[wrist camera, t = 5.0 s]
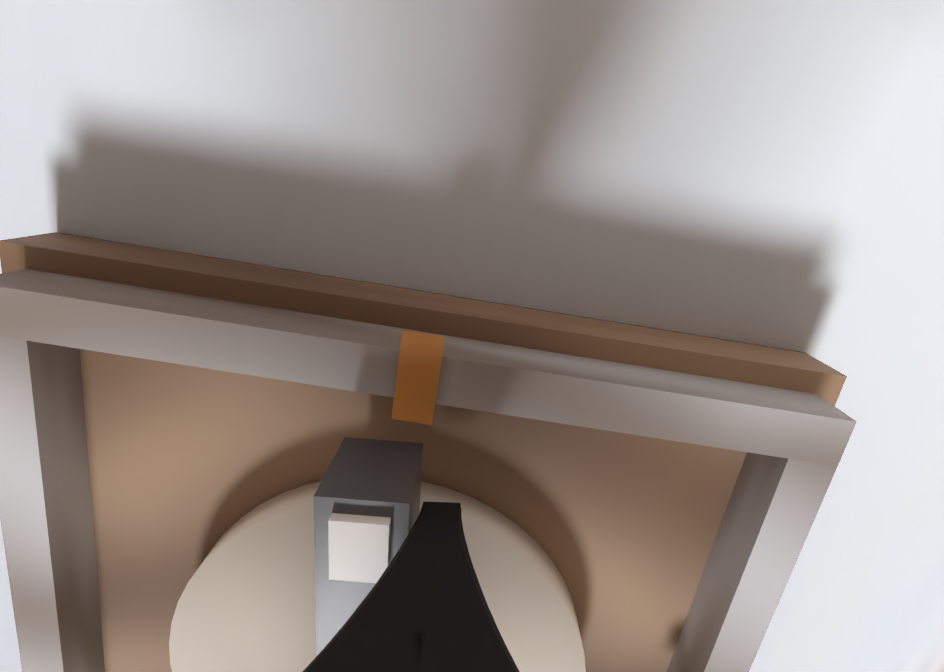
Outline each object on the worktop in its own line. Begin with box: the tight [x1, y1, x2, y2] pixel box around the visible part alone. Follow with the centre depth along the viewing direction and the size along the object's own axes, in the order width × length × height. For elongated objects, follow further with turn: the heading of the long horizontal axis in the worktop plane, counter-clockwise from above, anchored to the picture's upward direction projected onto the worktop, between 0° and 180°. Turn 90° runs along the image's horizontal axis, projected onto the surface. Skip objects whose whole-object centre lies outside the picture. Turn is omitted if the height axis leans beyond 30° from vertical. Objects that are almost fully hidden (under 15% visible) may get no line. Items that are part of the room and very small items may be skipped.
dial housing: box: [0, 232, 856, 672], centre depth 14 cm, size 18×18×3 cm
